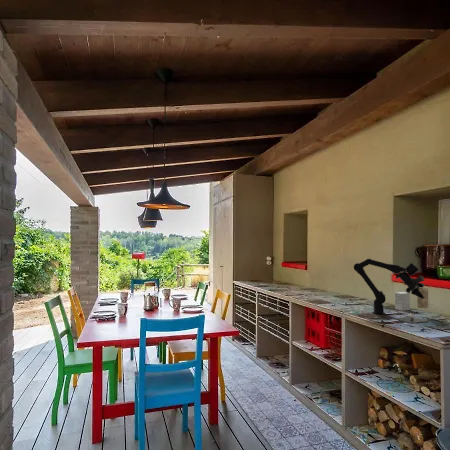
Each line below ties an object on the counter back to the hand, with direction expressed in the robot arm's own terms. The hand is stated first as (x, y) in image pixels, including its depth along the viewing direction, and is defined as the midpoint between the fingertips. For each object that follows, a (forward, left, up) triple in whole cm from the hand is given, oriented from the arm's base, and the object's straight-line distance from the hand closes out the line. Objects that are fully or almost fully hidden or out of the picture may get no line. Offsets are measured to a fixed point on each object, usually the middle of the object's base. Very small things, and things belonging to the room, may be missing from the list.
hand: (425, 297), depth 239 cm
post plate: (+3, -14, -13) cm, 19 cm away
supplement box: (-28, +7, -14) cm, 32 cm away
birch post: (-1, -1, -7) cm, 7 cm away
